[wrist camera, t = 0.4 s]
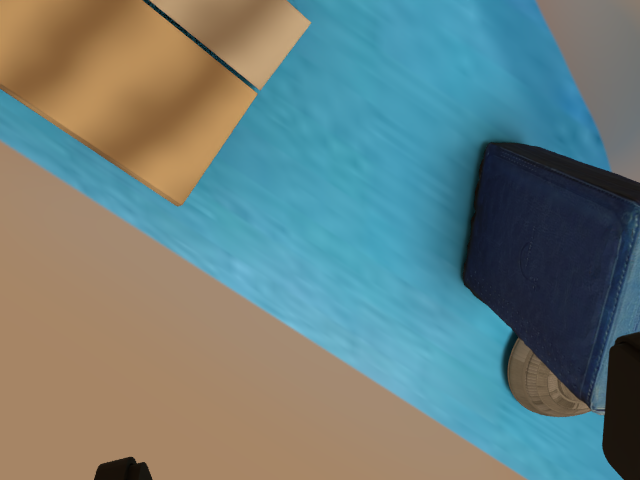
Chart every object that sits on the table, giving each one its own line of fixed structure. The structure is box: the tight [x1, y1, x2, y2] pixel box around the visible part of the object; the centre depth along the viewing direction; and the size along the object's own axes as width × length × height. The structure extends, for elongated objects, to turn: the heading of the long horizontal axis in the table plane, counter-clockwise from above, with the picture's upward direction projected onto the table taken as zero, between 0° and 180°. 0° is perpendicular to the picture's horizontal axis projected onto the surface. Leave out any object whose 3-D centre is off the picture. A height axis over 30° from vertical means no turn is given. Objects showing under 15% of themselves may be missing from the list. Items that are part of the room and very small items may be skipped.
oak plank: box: [0, 0, 257, 206], centre depth 34 cm, size 24×10×2 cm, turn 50°
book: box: [463, 142, 640, 415], centre depth 39 cm, size 14×5×20 cm, turn 177°
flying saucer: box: [508, 337, 591, 417], centre depth 53 cm, size 15×15×6 cm
